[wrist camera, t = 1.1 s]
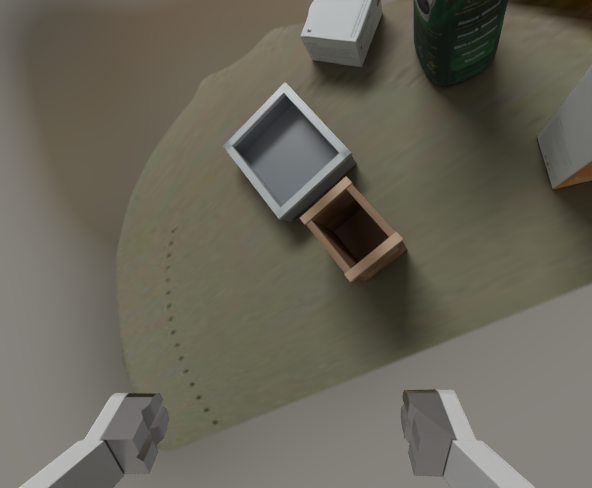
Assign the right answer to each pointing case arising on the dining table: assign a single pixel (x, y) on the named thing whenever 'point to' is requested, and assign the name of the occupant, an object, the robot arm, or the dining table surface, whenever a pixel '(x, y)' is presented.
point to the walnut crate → (353, 232)
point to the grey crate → (289, 154)
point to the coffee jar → (457, 37)
